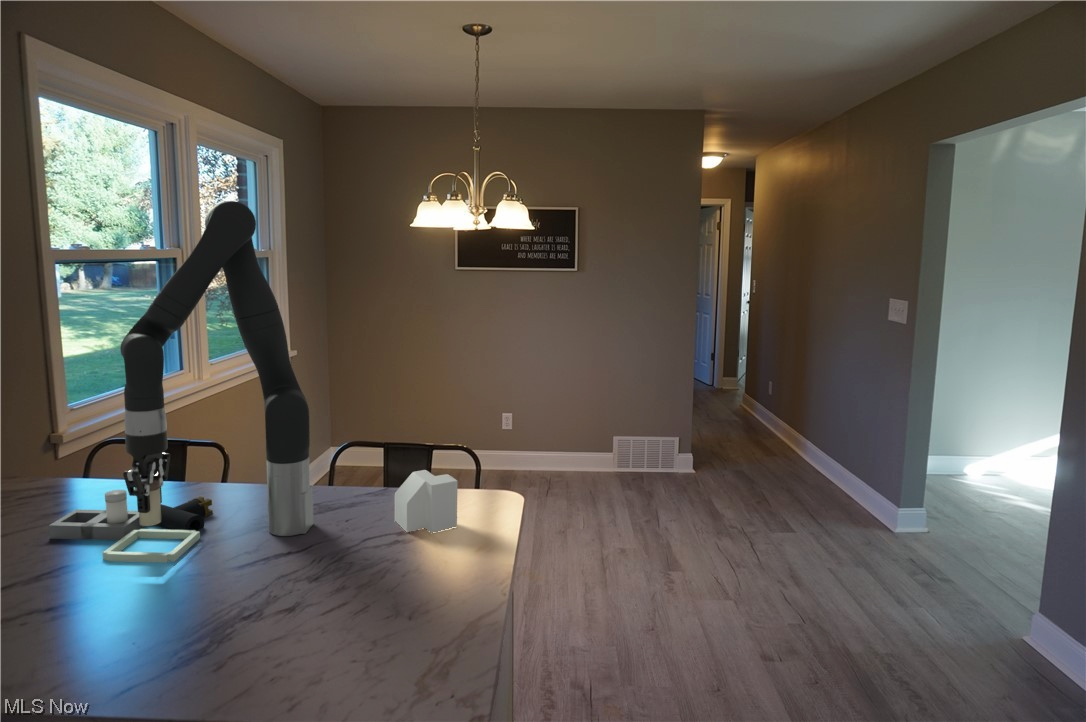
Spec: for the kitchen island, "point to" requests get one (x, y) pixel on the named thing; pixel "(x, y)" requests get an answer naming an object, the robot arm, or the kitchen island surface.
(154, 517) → the cylinder
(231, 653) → the kitchen island surface
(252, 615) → the kitchen island surface
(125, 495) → the cylinder
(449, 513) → the pale house-shaped block
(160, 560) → the parts tray
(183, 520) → the pipe connector
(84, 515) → the fuse block
